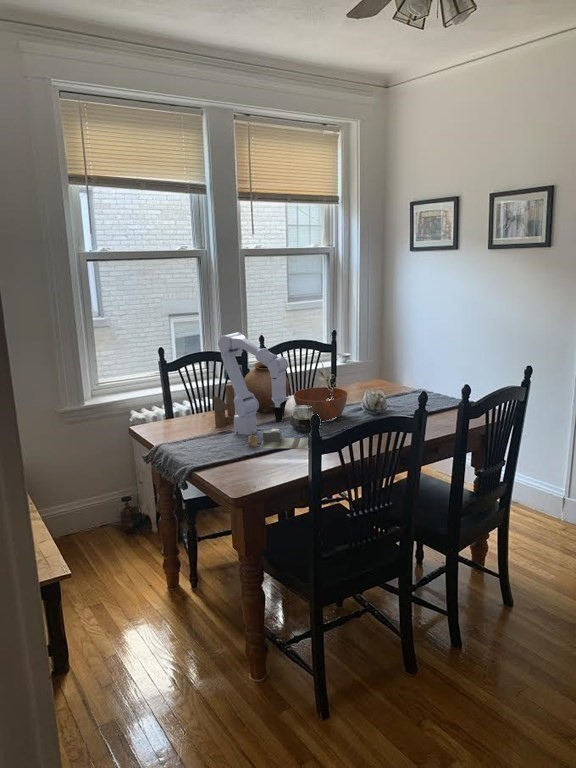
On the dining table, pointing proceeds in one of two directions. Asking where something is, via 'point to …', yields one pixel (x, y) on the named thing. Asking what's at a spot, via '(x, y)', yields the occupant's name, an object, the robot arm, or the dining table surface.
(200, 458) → the dining table surface
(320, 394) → the bowl
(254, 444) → the small yellow jar
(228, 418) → the wooden block
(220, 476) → the dining table surface
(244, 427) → the robot arm
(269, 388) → the pottery
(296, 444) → the subfloor board
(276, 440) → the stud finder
